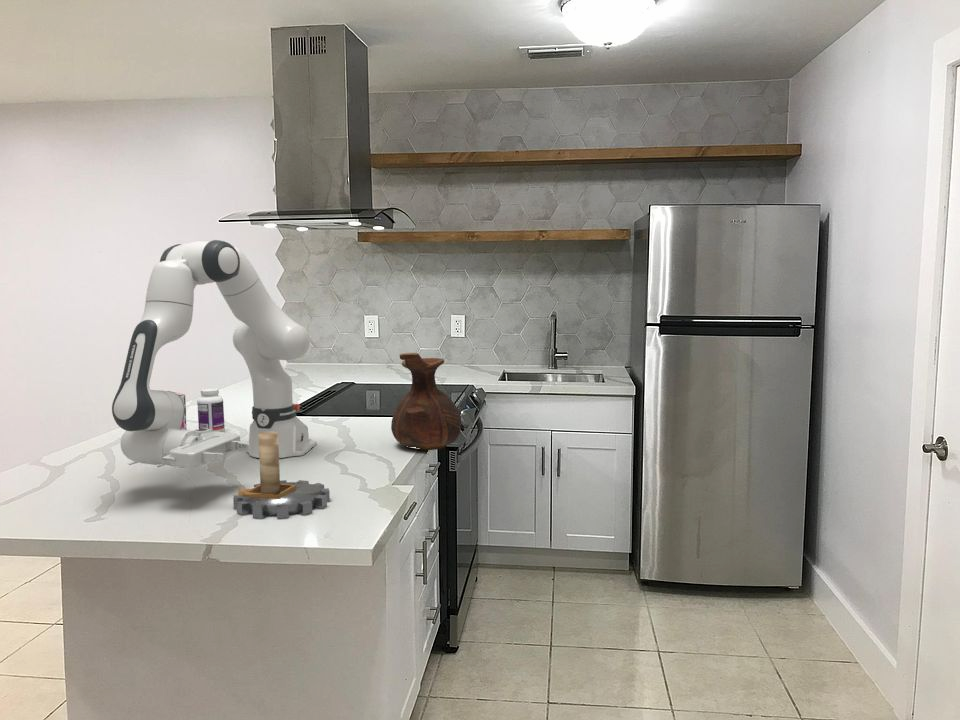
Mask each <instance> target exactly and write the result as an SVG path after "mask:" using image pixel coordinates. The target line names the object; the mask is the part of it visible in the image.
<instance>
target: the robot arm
mask: <svg viewBox="0 0 960 720" xmlns="http://www.w3.org/2000/svg"><path fill="white" fill-rule="evenodd" d="M259 276H260V275H259V274H258V273H257V271H256V269H255V267H254V266H253V264H252V262H250V260H249V259H248V257H247V256H246V254H245V253H243V251H242V250H241V249H240V248H238V247H236V246H233V245H232V244H231V243H229V242H226V241H224V240H217V239H213V240H196V241H192V242H187V243H180V244H179V243H178V244H174V245H171V246H169V247H167V248H166V249H165V250H164V251H163V252H162V254H161V256H160V259H159V262H158V263H156V264H155V265H154V267H153V268H152V270H151V273H150V277H149V281H148V284H147V289H146V295H145V303H144V311H143V314H142V317H141V319H140V322H139V323H138V324H136V326H135V327H134V330H133V333H132V335H131V339H130V342H129V346H128V349H127V353H126V359H125V364H124V368H123V373H122V375H121V376H122V377H121V380H120V385H119V387H118V389H117V391H116V393H115V396H114V398H113V400H112V404H111V414H112V417H113V419H114V421H115V423H116V425H118V427H119V428H121V429H123V430H124V432H123V434H122V435H121V438H120V442H119V443H120V450H121V452H122V454H123V455H124V456H125V457H126V458H127V459H128V460H130V461H132V462H134V461H135V462H138V463H139V464H145V465H153V466H154V465H155V466H157V465H160V464H166V465H165V466H169V467H176V468H184V469H195V468H198V467H200V466H202V465H204V464H207V463H212V462H224V461H226V460H227V455H228V454H229V455H230V454H231V453H234V452H236V451H238V452H243V453H244V452H246V453H248V455H249V456H250V457H253V458H258V459H259V433H262V432H278V442H279V459H282V458H284V459H285V458H289V457H299V456H304V455H306V454H307V453H309V451H311V450H312V449H313V448H314V447H315V446H316V445H318V442H317V440H315V439H310V438H309V434H310V433H309V427H308V426H307V425H306V424H305V423H304V422H303V421H302V420H300V419H299V417H297V411H300V409H301V408H300V407H301V405H300V403H294V402H293V381H292V377H291V376H290V375H289V374H288V373H287V372H286V371H285V370H284V368H283V365H282V364H281V361H291V360H297V359H300V358H302V357H303V356H305V355H306V354H307V352H308V350H309V347H310V342H311V340H310V339H311V338H310V334H309V332H308V330H307V329H306V328H305V327H304V326H303V325H300V324H299V323H297V322H296V321H294V320H293V319H292V318H291V317H289V316H288V314H286V313H285V311H284V310H282V309H281V307H280V306H279V305H277V303H276V302H275V301H274V300H273V298H272V297H271V295H270V294H269V292H268V290H267V289H266V287H265V285H264V283H263V281H262V279H261V278H260V277H259ZM213 283H215V284H216V286H217V288H218V290H219V292H220V294H221V296H222V297H223V299H224V300H225V302H226V304H227V306H228V307H229V309H230V311H231V313H232V314H233V316H234V318H236V319H237V320H238V321H240V322H241V323H240V324H238V325H237V326H236V327H235V329H234V331H233V335H232V342H233V346H234V348H235V349H236V351H238V352H239V354H240V355H241V356H242V357H243V360H244V361H245V364H246V366H247V369H248V371H249V375H250V378H251V386H252V398H253V400H252V401H253V403H252V404H253V406H252V407H251V408H252V409H251V415H252V416H251V418H252V422H251V423H250V424H249V433H248V443H247V442H241V437H240V435H239V434H237V433H234V432H224V431H223V432H217V431H214V432H211V429H199V428H198V429H187V430H181V426H182V422H183V417H184V404H183V401H182V399H181V398H180V397H179V396H178V395H177V394H176V393H177V392H175V393H174V391H171V392H169V391H170V390H159V389H158V390H157V389H156V390H155V389H150V388H151V387H150V382H151V377H152V373H153V369H154V363H155V359H156V355H157V354H158V352H159V351H160V350H161V348H163V347H164V346H165V345H168V344H169V343H171V342H174V341H177V340H179V339H181V338H182V337H184V336H185V335H186V334H187V333H188V332H189V330H190V327H191V325H192V321H193V313H194V301H195V299H194V298H195V297H194V295H195V293H194V292H195V291H194V290H195V288H196V287H197V286H198V285H200V286H202V285H206V284H213ZM312 447H313V448H312ZM311 448H312V449H311ZM305 453H306V454H305ZM138 463H137V464H138Z"/></svg>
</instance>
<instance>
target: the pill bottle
mask: <svg viewBox="0 0 960 720" xmlns="http://www.w3.org/2000/svg"><path fill="white" fill-rule="evenodd" d="M219 393H220V391H219V388H215V387H214V388H212V387H211V388H210V387H209V388H203V389H200V395H201V396H200V397H198V398H197V421H198V429H211V432H214V431H217V432H224V431H225V429H226V428H225V426H226V425H225V412H224V411H225V410H224V398H223V397H222V396H220V395H219Z"/></svg>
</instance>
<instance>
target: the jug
mask: <svg viewBox="0 0 960 720" xmlns="http://www.w3.org/2000/svg"><path fill="white" fill-rule="evenodd" d="M399 359H400V360H402V362H401V366H402V367H404V368H405V369H408V371H410V374H411V388H410V390H409V392H407V394H405V395H404V396H403V397H402V398H401V399H400V400H399V402H398V404H397V406H396V408H395V410H394V412H393V415H392V419H391V425H390V429H391V433H392V435H393V438H394V439H395V441H396V442H398V443H399V444H400V445H402V446H404V447H406V446H408V447H416V448H420V449H421V450H423V451H433V450H441V449H443V448H446V447H448V446H450V445H451V444H452V443H455V442H456V441H457V439H458V438H459V437H460V434H461V432H462V431H461V430H462V417H461V413H460V411H459V409H458V408H457V406H456V404H455V403H454V401H453V400H452V398H451V397H449V396H448V394H446V393H444V392H442V391H441V390H440V389H439V388H438V386H437V382H436V372H437V369H438V368H440V367H441V366H442V365H444V363H445V359H443V358H439V357H425V358H424V357H423V358H422V357H421V355H420V354H419V353H417V352H405V353H400V354H399Z"/></svg>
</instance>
